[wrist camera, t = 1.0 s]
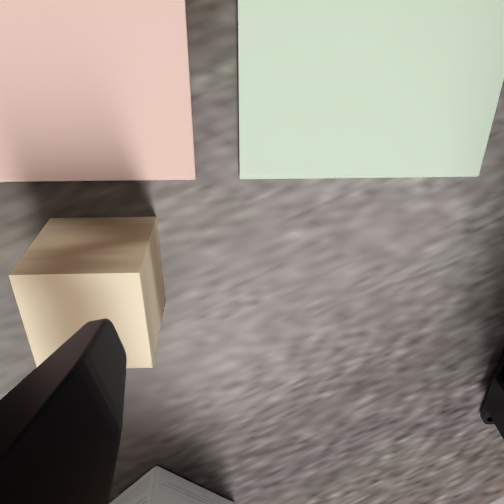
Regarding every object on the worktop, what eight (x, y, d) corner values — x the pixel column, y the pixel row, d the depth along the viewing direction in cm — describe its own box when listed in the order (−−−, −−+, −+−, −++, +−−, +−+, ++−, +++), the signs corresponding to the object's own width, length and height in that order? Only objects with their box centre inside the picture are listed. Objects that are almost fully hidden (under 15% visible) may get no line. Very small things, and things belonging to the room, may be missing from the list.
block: (156, 215, 23) (139, 272, 19) (165, 300, 25) (152, 367, 21) (50, 217, 23) (8, 275, 18) (70, 302, 25) (37, 370, 21)
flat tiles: (552, -124, 17) (557, -126, 16) (475, 174, 22) (478, 176, 22) (-157, -133, 16) (-163, -134, 16) (-51, 179, 21) (-54, 182, 21)
